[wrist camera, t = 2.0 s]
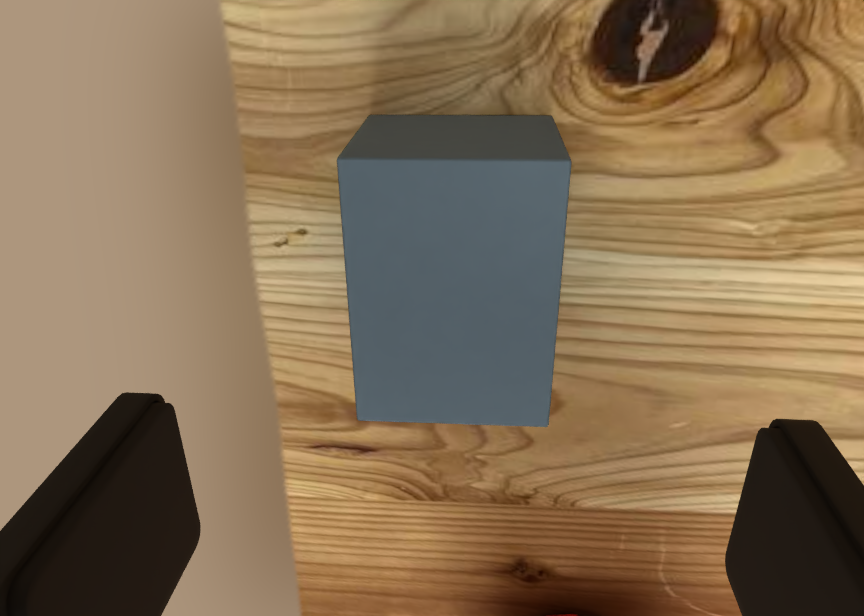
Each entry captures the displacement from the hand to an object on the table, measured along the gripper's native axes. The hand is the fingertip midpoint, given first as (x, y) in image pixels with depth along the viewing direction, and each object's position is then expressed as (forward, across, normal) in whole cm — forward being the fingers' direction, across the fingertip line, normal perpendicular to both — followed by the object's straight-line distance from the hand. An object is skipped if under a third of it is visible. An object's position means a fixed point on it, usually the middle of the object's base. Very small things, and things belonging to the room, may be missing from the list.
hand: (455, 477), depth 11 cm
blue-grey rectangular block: (+10, 0, 0) cm, 10 cm away
